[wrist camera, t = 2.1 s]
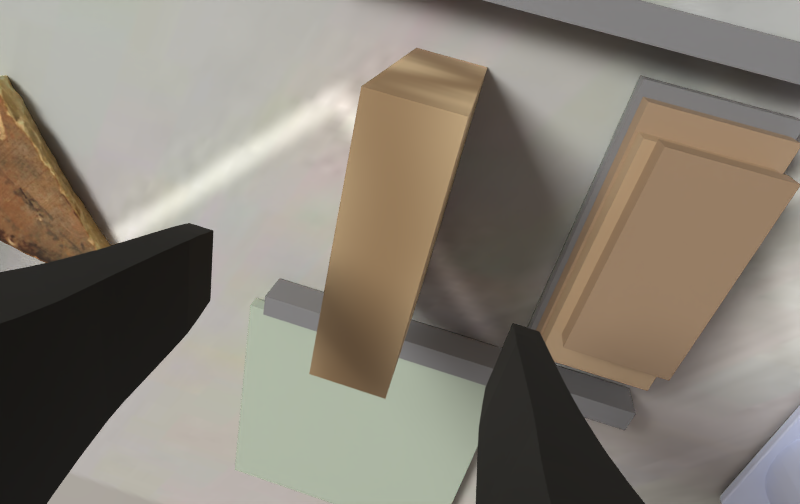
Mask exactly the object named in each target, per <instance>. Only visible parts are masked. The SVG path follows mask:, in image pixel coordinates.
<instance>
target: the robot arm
mask: <svg viewBox="0 0 800 504" xmlns="http://www.w3.org/2000/svg"><path fill="white" fill-rule="evenodd" d="M212 250H213V230H210V229H206V228H203V227H200V226H197V225H193V224H190V223H188V224H183V225H179V226H175V227H172V228H168V229H165V230H161V231H158V232H155V233H151V234H148V235H145V236H141V237H138V238H135V239H132V240H128V241H125V242H122V243H118V244H115V245H112V246H108V247H105V248H102V249H98V250H94V251H90V252H87V253H83V254H79V255H75V256H72V257H68V258H64V259H60V260H56V261H53V262H48V263H44V264H40V265H35V266H30V267H26V268H20V269H15V270H10V271H4V272H0V504H47V502H48V501H49V499H50V498H51V497H52V495H53V494H54V492H55V491H56V490H57V488H58V487H59V485H60V484H61V483H62V481H63V480H64V478H65V477H66V476H67V474H68V473H69V472H70V470H71V469H72V467H73V466H74V465H75V463H76V462H77V460H78V459H79V458H80V456H81V455H82V454H83V452H84V451H85V450H86V448H87V447H88V446H89V444H90V443H91V442H92V440H93V439H94V438H95V436H96V435H97V434H98V433H99V431H100V430H101V429H102V427H103V426H104V425H105V423H106V422H107V421H108V419H109V418H110V417H111V416H112V415H113V414H114V412H115V411H116V410H117V409H118V408H119V407H120V405H121V404H122V403H123V402H124V401H125V400H126V399H127V398H128V397H129V396H130V395H131V393H132V392H133V391H134V390H135V389H136V388H137V387H138V386H139V385H140V384H141V383H142V382H143V381H144V380H145V379H146V378H147V376H148V375H149V374H150V373H151V372H152V371H153V370H154V369H155V368H156V367H157V366H158V365H159V364H160V363H161V362H162V360H163V359H164V358H165V357H166V356H167V355H168V354H169V353H170V352H171V351H172V350H173V349H174V347H175V346H176V345H177V344H178V343H179V342H180V341H181V340H182V339H183V338H184V336H185V335H186V334H187V333H188V332H189V330H190V329H191V328H192V326H193V325H194V323H195V322H196V321H197V319H198V318H199V316H200V315H201V313H202V312H203V310H204V309H205V307H206V306H207V304H208V303H209V302H210V295H211V272H212ZM720 501H721V504H800V406H799V407H798V408H797V409H796V410H795V411H794V412H793V414H792V415H791V416H790V417H789V418H788V419H787V420H786V421H785V423H784V424H783V425H782V426H781V427H780V428H779V429H778V431H777V432H776V433H775V434H774V435H773V436H772V437H771V439H770V440H769V441H768V442H767V443H766V444H765V445H764V447H763V448H762V449H761V450H760V451H759V452H758V453H757V454H756V456H755V457H754V458H753V459H752V460H751V461H750V462H749V464H748V465H747V466H746V467H745V468H744V469H743V470H742V472H741V473H740V474H739V475H738V476H737V477H736V478H735V479H734V481H733V482H732V483H731V484H730V485H729V486H728V487H727V489H726V490H725V491H724V492H723V493H722V494H721V496H720ZM476 504H645V503H644V502H643V500H642V499H641V498H640V497H639V495H638V494H637V493H636V492H635V490H634V489H633V488H632V487H631V485H630V484H629V483H628V481H627V480H626V479H625V477H624V476H623V475H622V473H621V472H620V471H619V469H618V468H617V466H616V465H615V464H614V462H613V461H612V460H611V458H610V457H609V456H608V454H607V453H606V451H605V450H604V448H603V447H602V445H601V444H600V442H599V441H598V439H597V438H596V436H595V434H594V433H593V431H592V430H591V428H590V426H589V425H588V423H587V422H586V420H585V418H584V417H583V415H582V413H581V412H580V410H579V408H578V406H577V405H576V403H575V401H574V399H573V397H572V395H571V394H570V392H569V390H568V388H567V386H566V384H565V382H564V380H563V378H562V376H561V374H560V372H559V370H558V368H557V366H556V364H555V362H554V360H553V358H552V356H551V354H550V352H549V350H548V348H547V346H546V344H545V342H544V340H543V338H542V336H541V334H540V332H539V331H536V330H533V329H530V328H526V327H523V326H520V325H517V324H514V323H513V324H512V326H511V329H510V331H509V333H508V336H507V338H506V340H505V343H504V345H503V347H502V350H501V352H500V355H499V357H498V359H497V362H496V364H495V366H494V369H493V371H492V373H491V376H490V378H489V380H488V383H487V385H486V387H485V392H484V398H483V404H482V410H481V416H480V423H479V432H478V457H477V486H476Z"/></svg>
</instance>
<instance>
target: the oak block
mask: <svg viewBox="0 0 800 504" xmlns="http://www.w3.org/2000/svg"><path fill="white" fill-rule="evenodd" d="M486 71H487V67H484V66H480V65H477V64H473V63H469V62H466V61H462V60H459V59H455V58H451V57H448V56H444V55H440V54H437V53H433V52H430V51H426V50H422V49H419V48H416V49H414V50H413V51H411V52H410V53H408V54H407V55H406V56H404V57H403V58H401V59H400V60H398V61H397V62H396V63H394V64H393V65H391V66H390V67H389V68H387V69H386V70H384V71H383V72H381V73H380V74H379V75H377V76H376V77H374V78H373V79H371V80H370V81H369V82H367V83H366V84H364V85H363V86H361V92H360V97H359V103H358V108H357V114H356V119H355V125H354V130H353V136H352V141H351V147H350V152H349V158H348V163H347V169H346V174H345V180H344V185H343V191H342V196H341V202H340V207H339V213H338V218H337V224H336V229H335V235H334V240H333V246H332V251H331V257H330V262H329V268H328V273H327V279H326V284H325V290H324V295H323V301H322V306H321V312H320V317H319V323H318V328H317V334H316V339H315V345H314V350H313V356H312V361H311V367H310V372H309V374H311V375H314V376H317V377H320V378H323V379H326V380H329V381H332V382H335V383H338V384H341V385H344V386H347V387H350V388H353V389H356V390H359V391H362V392H366V393H369V394H372V395H375V396H378V397H381V398H384V399H386V396H387V393H388V390H389V387H390V383H391V380H392V377H393V374H394V371H395V368H396V365H397V362H398V359H399V356H400V353H401V350H402V346H403V343H404V340H405V337H406V334H407V331H408V328H409V325H410V322H411V319H412V316H413V313H414V310H415V306H416V303H417V300H418V297H419V294H420V291H421V288H422V285H423V282H424V278H425V275H426V272H427V268H428V265H429V262H430V258H431V255H432V252H433V248H434V245H435V242H436V238H437V235H438V231H439V228H440V225H441V221H442V218H443V215H444V211H445V208H446V205H447V201H448V198H449V195H450V191H451V188H452V185H453V181H454V178H455V175H456V171H457V168H458V165H459V161H460V158H461V154H462V151H463V148H464V144H465V141H466V138H467V134H468V131H469V128H470V124H471V121H472V118H473V114H474V111H475V108H476V104H477V101H478V98H479V94H480V91H481V88H482V84H483V81H484V77H485V74H486Z"/></svg>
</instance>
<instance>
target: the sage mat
mask: <svg viewBox="0 0 800 504" xmlns="http://www.w3.org/2000/svg"><path fill="white" fill-rule="evenodd" d="M264 303H265V301H263V300H260V299H257V298H256V299H255V300H254V301H253V303H252V304H251V305H250V314H249V324H248V335H247V346H246V356H245V367H244V377H243V388H242V399H241V409H240V420H239V431H238V441H237V452H236V463H235V470H237V471H240V472H243V473H246V474H248V475H251V476H254V477H257V478H260V479H263V480H266V481H269V482H272V483H275V484H278V485H280V486H283V487H286V488H289V489H292V490H295V491H298V492H301V493H304V494H307V495H310V496H312V497H315V498H318V499H321V500H324V501H327V502H330V503H333V504H452V502H453V500H454V497H455V495H456V493H457V491H458V489H459V486H460V484H461V482H462V480H463V478H464V475H465V473H466V471H467V469H468V467H469V464H470V462H471V460H472V458H473V455H474V453H475V451H476V449H477V447H478V432H479V423H480V416H481V410H482V404H483V398H484V392H485V387H486V386H485V385H482V384H479V383H475V382H472V381H469V380H466V379H463V378H460V377H457V376H454V375H450V374H447V373H444V372H441V371H438V370H435V369H432V368H429V367H425V366H422V365H419V364H416V363H413V362H410V361H407V360H404V359H400V358H399V359H398V362H397V365H396V368H395V371H394V374H393V377H392V380H391V383H390V387H389V390H388V393H387V396H386V399H384V398H381V397H378V396H375V395H372V394H369V393H366V392H362V391H359V390H356V389H353V388H350V387H347V386H344V385H341V384H338V383H335V382H332V381H329V380H326V379H323V378H320V377H317V376H314V375H311V374H309V372H310V367H311V361H312V356H313V350H314V345H315V339H316V334H317V332H316V331H313V330H310V329H307V328H304V327H301V326H297V325H294V324H291V323H288V322H285V321H282V320H279V319H276V318H272V317H269V316H266V315H263V312H264Z"/></svg>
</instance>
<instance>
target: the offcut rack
mask: <svg viewBox="0 0 800 504" xmlns="http://www.w3.org/2000/svg"><path fill="white" fill-rule="evenodd" d="M484 1H487V2H491V3H495V4H499V5H502V6H506V7H510V8H514V9H517V10H521V11H525V12H529V13H532V14H536V15H540V16H544V17H547V18H551V19H555V20H559V21H562V22H566V23H570V24H574V25H577V26H581V27H585V28H589V29H592V30H596V31H600V32H604V33H607V34H611V35H615V36H619V37H622V38H626V39H630V40H634V41H637V42H641V43H645V44H649V45H652V46H656V47H660V48H664V49H667V50H671V51H675V52H679V53H682V54H686V55H690V56H694V57H697V58H701V59H705V60H709V61H712V62H716V63H720V64H724V65H727V66H731V67H735V68H739V69H742V70H746V71H750V72H754V73H757V74H761V75H765V76H769V77H772V78H776V79H780V80H784V81H787V82H791V83H795V84H799V85H800V42H798V41H794V40H790V39H786V38H782V37H779V36H775V35H771V34H767V33H763V32H759V31H756V30H752V29H748V28H744V27H740V26H736V25H733V24H729V23H725V22H721V21H717V20H713V19H710V18H706V17H702V16H698V15H694V14H690V13H687V12H683V11H679V10H675V9H671V8H667V7H664V6H660V5H656V4H652V3H648V2H644V1H641V0H484ZM799 135H800V119H798V118H795V117H791V116H788V115H784V114H780V113H777V112H773V111H769V110H766V109H762V108H758V107H754V106H751V105H747V104H743V103H740V102H736V101H732V100H729V99H725V98H721V97H718V96H714V95H710V94H707V93H703V92H699V91H695V90H692V89H688V88H684V87H681V86H677V85H673V84H670V83H666V82H662V81H659V80H655V79H651V78H648V77H644V76H640V77H639V80H638V82H637V84H636V86H635V88H634V91H633V93H632V95H631V97H630V100H629V102H628V104H627V106H626V109H625V111H624V113H623V115H622V118H621V120H620V122H619V124H618V126H617V129H616V131H615V133H614V135H613V138H612V140H611V142H610V144H609V147H608V149H607V151H606V153H605V155H604V158H603V160H602V162H601V164H600V167H599V169H598V171H597V173H596V176H595V178H594V180H593V182H592V185H591V187H590V189H589V191H588V193H587V196H586V198H585V200H584V202H583V205H582V207H581V209H580V211H579V214H578V216H577V218H576V220H575V222H574V225H573V227H572V229H571V231H570V234H569V236H568V238H567V240H566V243H565V245H564V247H563V249H562V252H561V254H560V256H559V258H558V260H557V263H556V265H555V267H554V269H553V272H552V274H551V276H550V278H549V281H548V283H547V285H546V287H545V289H544V292H543V294H542V296H541V298H540V301H539V303H538V305H537V307H536V310H535V312H534V314H533V316H532V319H531V321H530V323H529V325H528V327H527V328H530V329H533V330H536V331H539V332H540V334H541V336H542V338H543V340H544V342H545V344H546V346H547V348H548V350H549V352H550V354H551V356H552V358H553V360H554V362H557V363H560V364H563V365H567V366H570V367H573V368H576V369H579V370H583V371H586V372H589V373H592V374H595V375H598V376H602V377H605V378H608V379H611V380H614V381H618V382H621V383H624V384H627V385H630V386H633V387H637V388H640V389H643V390H646V391H648V389H649V388H650V386H651V384H652V383H653V381H654V380H655V378H656V377H659V378H662V379H665V380H670V379H671V377H672V376H673V374H674V373H675V371H676V370H677V368H678V367H679V365H680V364H681V362H682V361H683V359H684V358H685V356H686V355H687V353H688V352H689V350H690V349H691V347H692V346H693V344H694V343H695V341H696V340H697V338H698V337H699V335H700V334H701V332H702V331H703V329H704V328H705V326H706V325H707V323H708V322H709V321H710V319H711V318H712V316H713V315H714V313H715V312H716V310H717V309H718V307H719V306H720V304H721V303H722V301H723V300H724V298H725V297H726V295H727V294H728V292H729V291H730V289H731V288H732V286H733V285H734V283H735V282H736V280H737V279H738V277H739V276H740V274H741V273H742V271H743V270H744V268H745V267H746V265H747V264H748V263H749V261H750V260H751V258H752V257H753V255H754V254H755V252H756V251H757V249H758V248H759V246H760V245H761V243H762V242H763V240H764V239H765V237H766V236H767V234H768V233H769V231H770V230H771V228H772V227H773V225H774V224H775V222H776V221H777V219H778V218H779V216H780V215H781V213H782V212H783V210H784V209H785V207H786V206H787V205H788V203H789V202H790V200H791V199H792V197H793V196H794V194H795V193H796V191H797V190H798V188H799V187H800V184H799V183H798V182H796V181H795V180H794V179H792V178H791V177H790V176H788V175H785V174H783V173H784V172H785V170H786V169H787V167H788V166H789V164H790V163H791V161H792V160H793V158H794V156H795V155H796V153H797V152H798V150H799V149H800V142H798V141H796V139H797V138H798V136H799ZM323 295H324V292H321V291H318V290H315V289H312V288H308V287H305V286H302V285H299V284H296V283H292V282H289V281H286V280H283V279H280V278H279V280H278V281H277V282H276V283H275V285H274V286H273V287H272V288H271V290H270V291H269V292H268V293H267V295H266V296H265V303H264V312H263V315H266V316H269V317H272V318H276V319H279V320H282V321H285V322H288V323H291V324H294V325H297V326H301V327H304V328H307V329H310V330H313V331H316V332H317V328H318V323H319V317H320V312H321V306H322V301H323ZM501 350H502V348H499V347H496V346H493V345H490V344H486V343H483V342H480V341H477V340H474V339H471V338H467V337H464V336H461V335H458V334H455V333H451V332H448V331H445V330H442V329H439V328H436V327H432V326H429V325H426V324H423V323H420V322H416V321H413V320H411V322H410V325H409V328H408V331H407V334H406V337H405V340H404V343H403V346H402V350H401V353H400V356H399V358H400V359H404V360H407V361H410V362H413V363H416V364H419V365H422V366H425V367H429V368H432V369H435V370H438V371H441V372H444V373H447V374H450V375H454V376H457V377H460V378H463V379H466V380H469V381H472V382H475V383H479V384H482V385H485V386H486V385H487V383H488V380H489V378H490V376H491V373H492V371H493V369H494V366H495V364H496V362H497V359H498V357H499V355H500V352H501ZM557 368H558V370H559V372H560V374H561V376H562V378H563V380H564V382H565V384H566V386H567V388H568V390H569V392H570V394H571V395H572V397H573V399H574V401H575V403H576V405H577V406H578V408H579V410H580V412H581V413H582V415H583V417H585V418H588V419H591V420H594V421H597V422H600V423H603V424H607V425H610V426H613V427H616V428H619V429H622V430H625V429H626V428H627V426H628V425H629V423H630V422H631V420H632V419H633V417H634V416H635V410H634V406H633V402H632V398H631V394H630V390H629V388H626V387H623V386H620V385H617V384H614V383H611V382H607V381H604V380H601V379H598V378H595V377H591V376H588V375H585V374H582V373H579V372H576V371H572V370H569V369H566V368H563V367H560V366H557Z"/></svg>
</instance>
